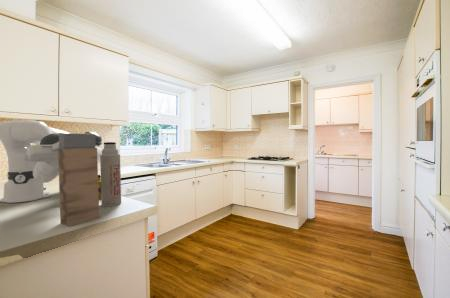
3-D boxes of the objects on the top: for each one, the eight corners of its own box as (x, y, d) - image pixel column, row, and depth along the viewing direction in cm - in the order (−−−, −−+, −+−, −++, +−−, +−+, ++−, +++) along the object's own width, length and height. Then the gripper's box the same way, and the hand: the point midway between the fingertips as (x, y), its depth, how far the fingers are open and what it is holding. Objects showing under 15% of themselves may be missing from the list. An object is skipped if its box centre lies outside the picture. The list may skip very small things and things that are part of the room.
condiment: (103, 200, 106) (102, 175, 106) (82, 203, 102) (81, 177, 101) (102, 197, 113) (101, 173, 112) (82, 199, 108) (81, 175, 107)
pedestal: (60, 223, 77) (57, 148, 76) (90, 214, 85) (88, 147, 84) (68, 226, 73) (65, 148, 72) (99, 217, 82) (97, 147, 81)
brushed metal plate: (48, 145, 80) (48, 131, 80) (78, 145, 88) (78, 132, 88) (64, 148, 73) (64, 133, 73) (95, 147, 81) (95, 134, 81)
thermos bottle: (124, 203, 100) (122, 142, 99) (105, 207, 95) (103, 142, 94) (117, 200, 106) (115, 142, 105) (98, 203, 100) (97, 142, 99)
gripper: (19, 153, 81) (30, 134, 74) (80, 151, 98) (94, 135, 91) (23, 169, 79) (35, 150, 73) (84, 163, 96) (98, 148, 90)
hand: (68, 142), depth 82 cm, fingers closed on brushed metal plate, 2 cm apart
